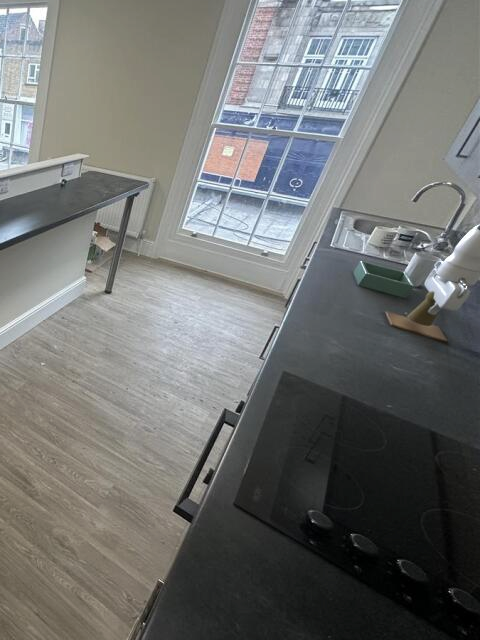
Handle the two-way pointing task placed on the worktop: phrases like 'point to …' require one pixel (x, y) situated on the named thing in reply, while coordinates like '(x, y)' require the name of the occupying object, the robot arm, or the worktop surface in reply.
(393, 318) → the mat
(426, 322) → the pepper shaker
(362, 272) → the basin
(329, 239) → the worktop surface
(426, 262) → the cup
